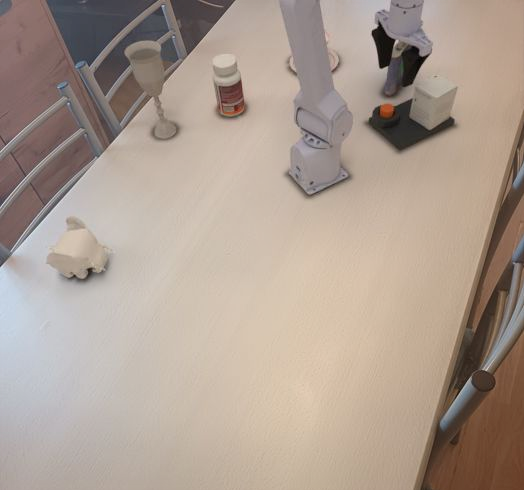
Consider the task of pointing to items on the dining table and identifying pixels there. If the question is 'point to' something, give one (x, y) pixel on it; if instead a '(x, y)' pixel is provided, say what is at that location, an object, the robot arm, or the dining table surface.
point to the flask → (395, 69)
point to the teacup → (332, 55)
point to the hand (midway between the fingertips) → (395, 75)
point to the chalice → (150, 79)
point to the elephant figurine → (77, 251)
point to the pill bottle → (228, 85)
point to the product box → (433, 101)
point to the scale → (403, 126)
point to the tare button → (386, 110)
